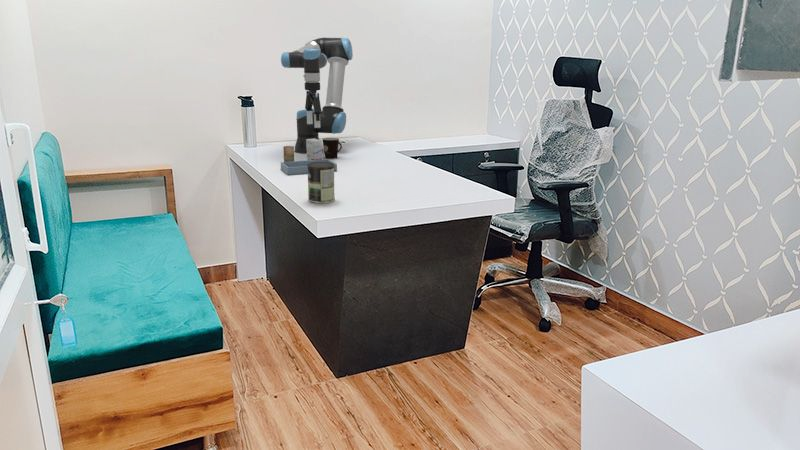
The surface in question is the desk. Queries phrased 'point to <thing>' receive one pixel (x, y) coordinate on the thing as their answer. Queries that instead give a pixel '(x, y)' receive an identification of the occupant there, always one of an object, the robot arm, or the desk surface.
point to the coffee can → (321, 182)
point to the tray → (301, 166)
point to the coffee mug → (331, 147)
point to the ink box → (314, 149)
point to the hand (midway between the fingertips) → (313, 125)
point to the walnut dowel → (288, 153)
